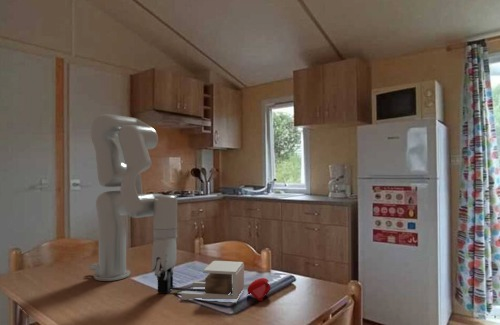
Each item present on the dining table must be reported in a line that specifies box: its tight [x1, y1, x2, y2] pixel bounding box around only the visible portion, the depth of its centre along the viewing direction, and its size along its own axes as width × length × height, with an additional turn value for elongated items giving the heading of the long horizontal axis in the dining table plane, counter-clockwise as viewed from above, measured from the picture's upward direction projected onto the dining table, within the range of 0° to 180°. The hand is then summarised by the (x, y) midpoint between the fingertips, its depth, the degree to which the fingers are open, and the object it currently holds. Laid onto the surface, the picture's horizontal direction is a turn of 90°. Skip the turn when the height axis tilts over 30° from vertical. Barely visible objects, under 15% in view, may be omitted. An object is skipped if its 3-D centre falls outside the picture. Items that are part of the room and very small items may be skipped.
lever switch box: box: [180, 260, 245, 301], centre depth 111 cm, size 17×11×9 cm, turn 79°
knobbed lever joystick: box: [160, 271, 233, 295], centre depth 112 cm, size 23×6×6 cm, turn 79°
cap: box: [246, 277, 272, 302], centre depth 108 cm, size 8×6×6 cm
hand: (165, 289), depth 114 cm, fingers closed on knobbed lever joystick, 3 cm apart
